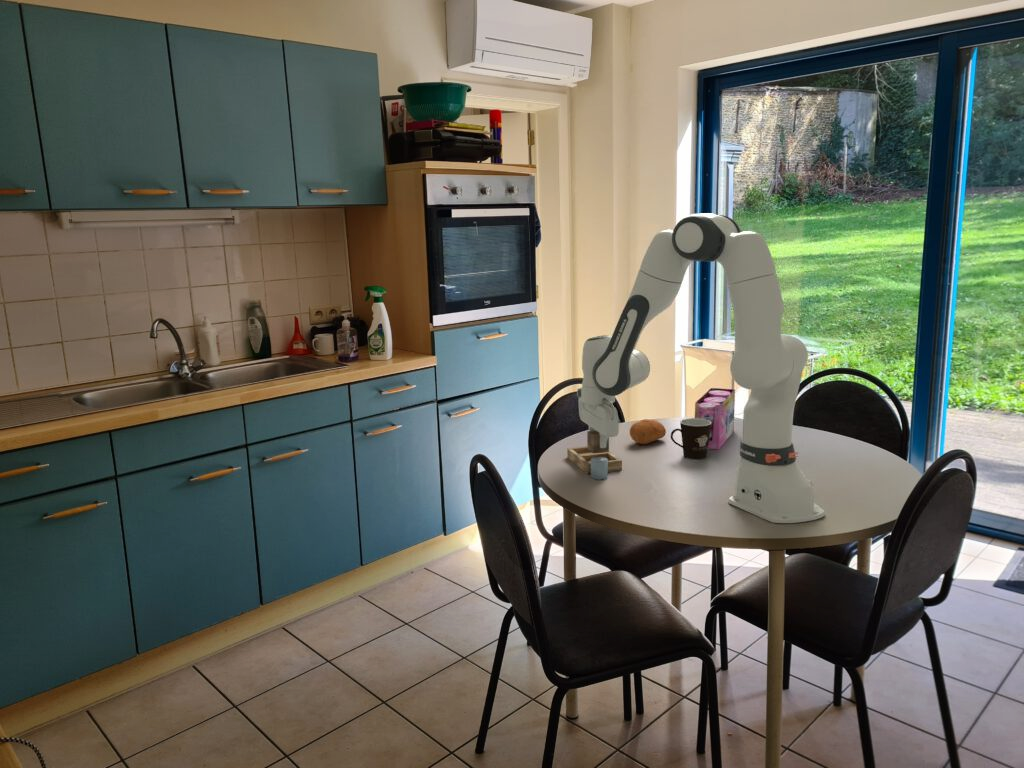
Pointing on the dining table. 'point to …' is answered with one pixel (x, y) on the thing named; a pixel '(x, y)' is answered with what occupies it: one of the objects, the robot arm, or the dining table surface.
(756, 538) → the dining table surface
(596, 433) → the walnut block
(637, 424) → the potato
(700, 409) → the gum box
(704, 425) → the coffee mug
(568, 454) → the wooden tray
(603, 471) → the grey capsule
